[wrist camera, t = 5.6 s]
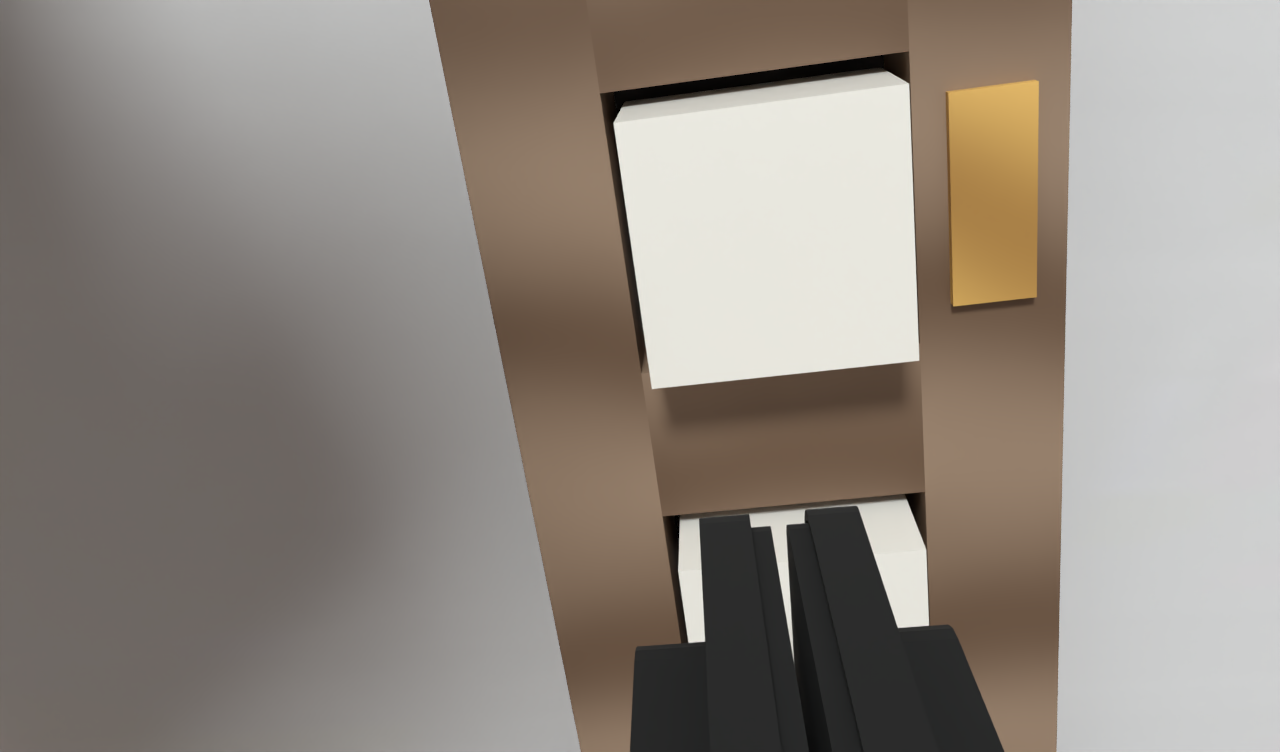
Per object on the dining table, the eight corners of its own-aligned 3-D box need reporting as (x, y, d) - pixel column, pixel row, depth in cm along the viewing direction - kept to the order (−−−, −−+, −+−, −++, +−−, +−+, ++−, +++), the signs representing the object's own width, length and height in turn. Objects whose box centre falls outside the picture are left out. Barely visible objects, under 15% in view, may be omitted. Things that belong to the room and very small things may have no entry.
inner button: (624, 102, 18) (613, 122, 15) (880, 67, 17) (909, 83, 15) (657, 337, 19) (651, 389, 17) (892, 311, 19) (919, 360, 16)
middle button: (680, 502, 20) (678, 571, 18) (900, 481, 20) (926, 549, 18) (704, 677, 22) (705, 760, 20) (908, 661, 22) (933, 745, 19)
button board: (449, -77, 18) (409, -83, 15) (1024, -166, 17) (1080, -189, 14) (650, 978, 28) (644, 1078, 25) (1019, 961, 27) (1052, 1063, 24)
